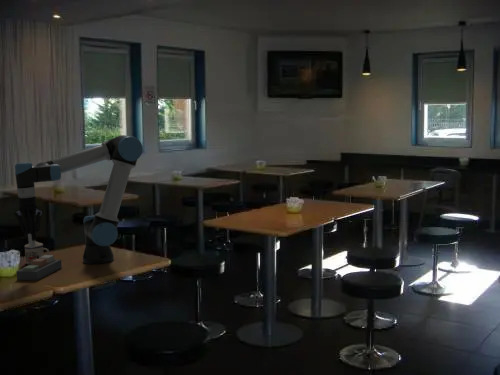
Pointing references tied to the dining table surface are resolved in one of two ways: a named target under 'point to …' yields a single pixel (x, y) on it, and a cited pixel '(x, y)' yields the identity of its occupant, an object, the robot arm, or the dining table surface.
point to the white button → (48, 258)
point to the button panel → (39, 271)
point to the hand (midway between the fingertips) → (32, 247)
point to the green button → (31, 268)
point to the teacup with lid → (34, 252)
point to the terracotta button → (39, 262)
